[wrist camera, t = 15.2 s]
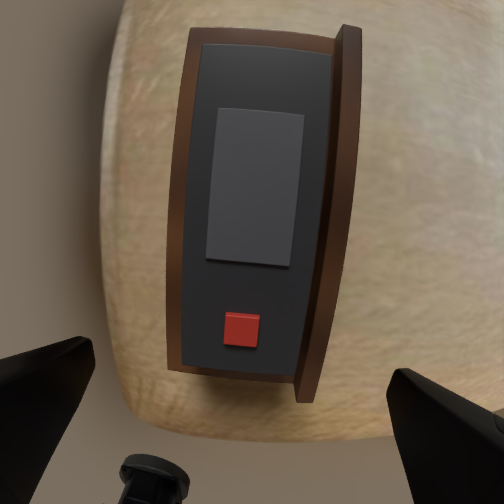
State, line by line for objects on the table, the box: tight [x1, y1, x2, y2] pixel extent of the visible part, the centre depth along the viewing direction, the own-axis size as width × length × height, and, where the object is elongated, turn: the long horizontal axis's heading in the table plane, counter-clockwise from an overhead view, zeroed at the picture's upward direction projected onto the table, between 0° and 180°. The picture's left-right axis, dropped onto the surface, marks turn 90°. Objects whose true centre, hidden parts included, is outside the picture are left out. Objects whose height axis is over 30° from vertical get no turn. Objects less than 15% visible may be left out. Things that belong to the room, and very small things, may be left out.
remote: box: [181, 44, 333, 376], centre depth 11 cm, size 12×4×2 cm, turn 175°
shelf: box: [166, 24, 362, 403], centre depth 15 cm, size 16×7×8 cm, turn 175°
